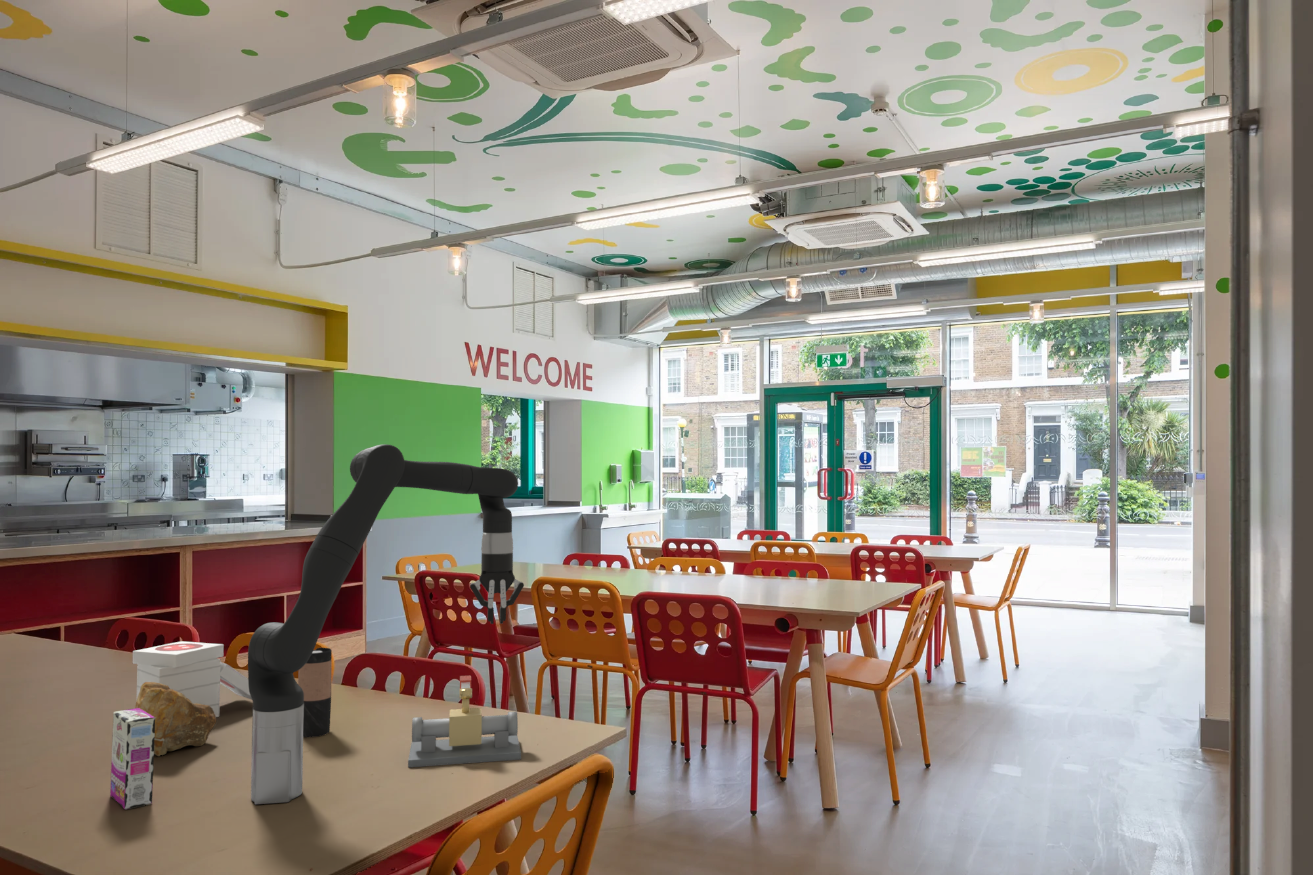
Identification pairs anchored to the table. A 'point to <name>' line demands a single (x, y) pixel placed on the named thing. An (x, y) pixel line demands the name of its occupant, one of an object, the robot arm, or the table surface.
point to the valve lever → (465, 687)
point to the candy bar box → (132, 758)
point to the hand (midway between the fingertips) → (496, 622)
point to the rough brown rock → (175, 717)
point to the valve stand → (464, 738)
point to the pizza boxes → (190, 671)
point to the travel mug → (316, 692)
